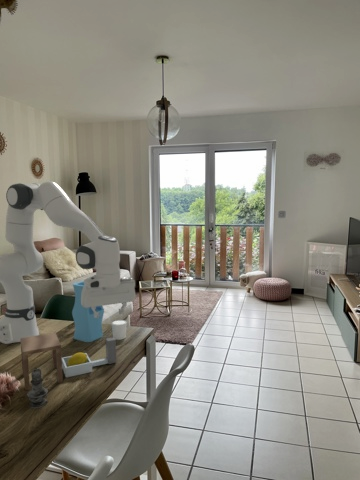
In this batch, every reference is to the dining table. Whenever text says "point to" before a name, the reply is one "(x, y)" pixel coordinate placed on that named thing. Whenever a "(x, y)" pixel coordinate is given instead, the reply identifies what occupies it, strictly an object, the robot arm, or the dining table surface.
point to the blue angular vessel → (86, 318)
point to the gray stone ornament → (37, 390)
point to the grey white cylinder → (119, 329)
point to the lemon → (77, 359)
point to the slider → (89, 364)
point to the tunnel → (41, 345)
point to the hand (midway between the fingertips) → (109, 315)
